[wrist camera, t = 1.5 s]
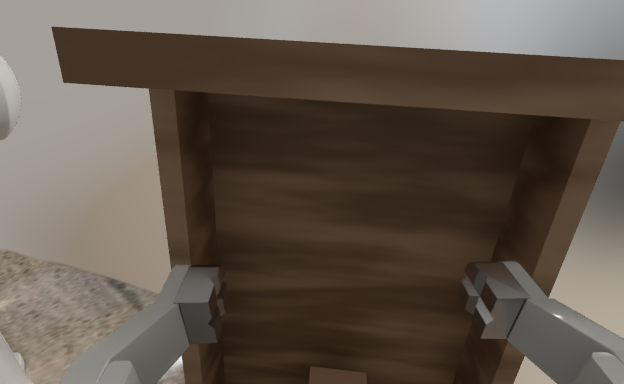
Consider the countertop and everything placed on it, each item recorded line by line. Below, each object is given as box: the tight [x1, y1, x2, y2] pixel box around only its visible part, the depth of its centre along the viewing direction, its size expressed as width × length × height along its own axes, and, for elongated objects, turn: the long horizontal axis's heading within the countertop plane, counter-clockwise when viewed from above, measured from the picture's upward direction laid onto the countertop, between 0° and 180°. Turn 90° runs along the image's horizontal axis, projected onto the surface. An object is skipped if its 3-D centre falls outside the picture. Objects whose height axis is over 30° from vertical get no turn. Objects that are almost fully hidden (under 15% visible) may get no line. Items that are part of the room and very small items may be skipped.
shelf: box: [52, 27, 624, 384], centre depth 24 cm, size 13×26×38 cm, turn 85°
